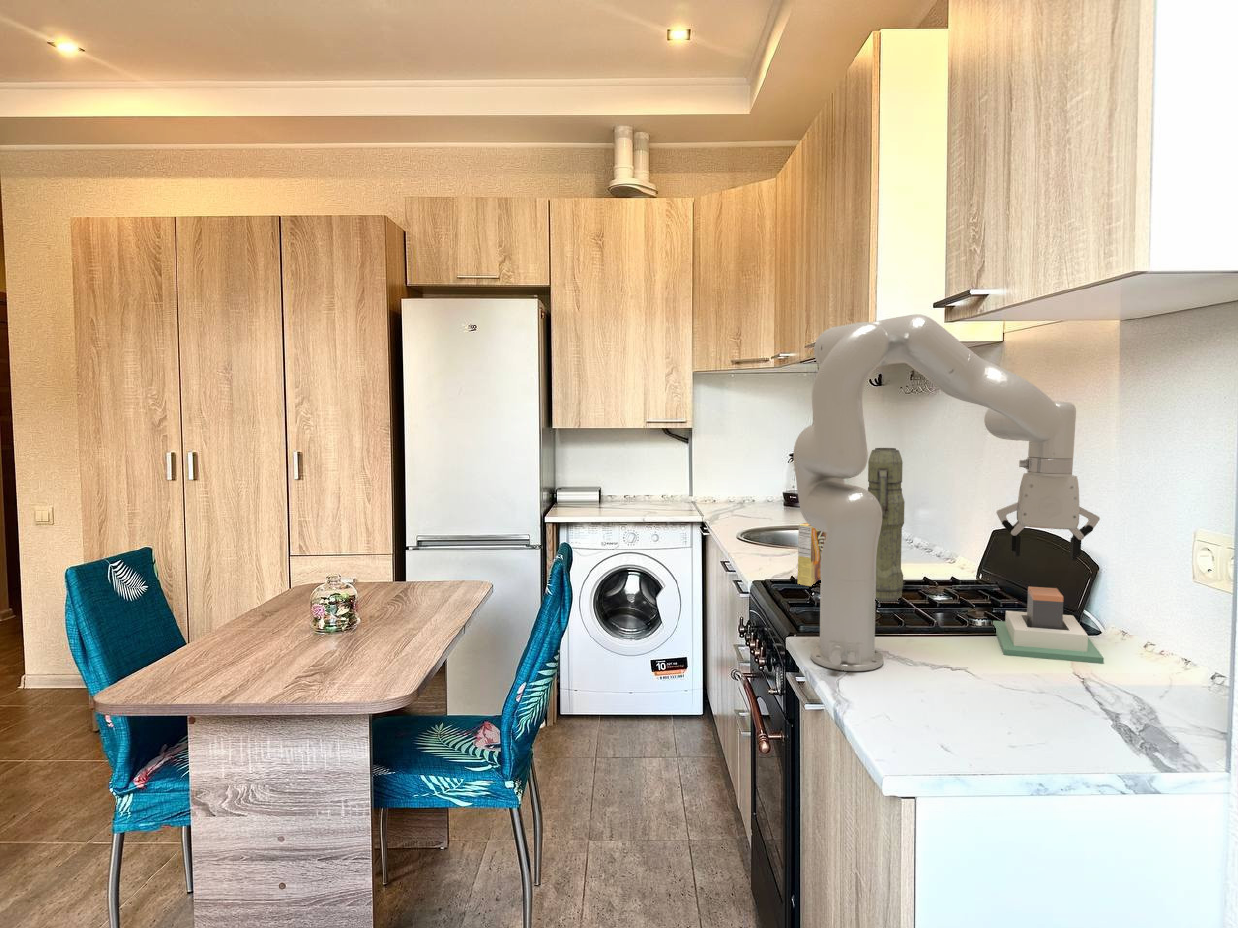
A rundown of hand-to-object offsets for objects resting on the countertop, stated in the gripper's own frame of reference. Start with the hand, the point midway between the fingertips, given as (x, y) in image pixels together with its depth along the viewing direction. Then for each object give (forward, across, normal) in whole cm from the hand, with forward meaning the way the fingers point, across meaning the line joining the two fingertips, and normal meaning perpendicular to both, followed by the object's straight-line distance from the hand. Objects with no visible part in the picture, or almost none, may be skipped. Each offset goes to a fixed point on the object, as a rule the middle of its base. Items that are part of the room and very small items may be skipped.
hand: (1044, 557), depth 155 cm
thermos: (+17, -29, +28) cm, 44 cm away
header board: (+17, +1, 0) cm, 17 cm away
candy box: (+17, -46, +38) cm, 63 cm away
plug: (+16, +1, 0) cm, 16 cm away
